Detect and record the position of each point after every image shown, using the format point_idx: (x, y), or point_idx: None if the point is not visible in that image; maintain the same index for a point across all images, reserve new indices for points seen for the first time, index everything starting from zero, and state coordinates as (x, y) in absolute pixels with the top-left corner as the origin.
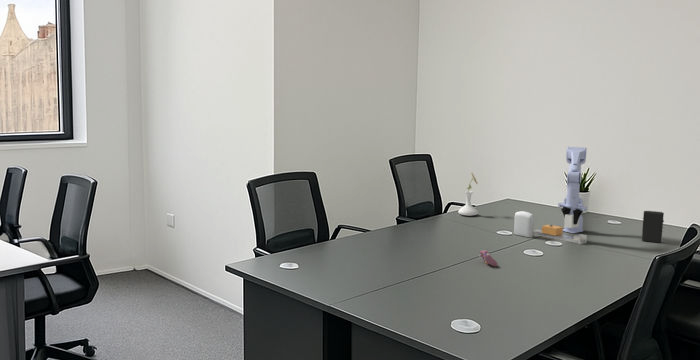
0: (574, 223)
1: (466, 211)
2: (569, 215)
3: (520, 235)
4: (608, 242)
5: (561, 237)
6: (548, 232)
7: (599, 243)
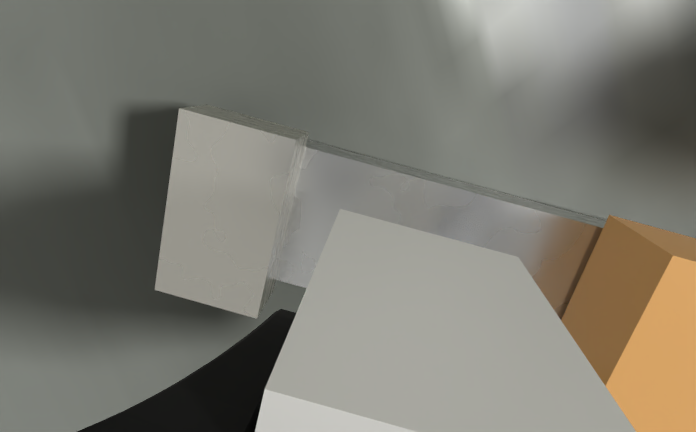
0: (278, 315)
1: None
2: (417, 427)
3: None
4: (37, 383)
5: (507, 201)
6: None
7: (76, 288)
